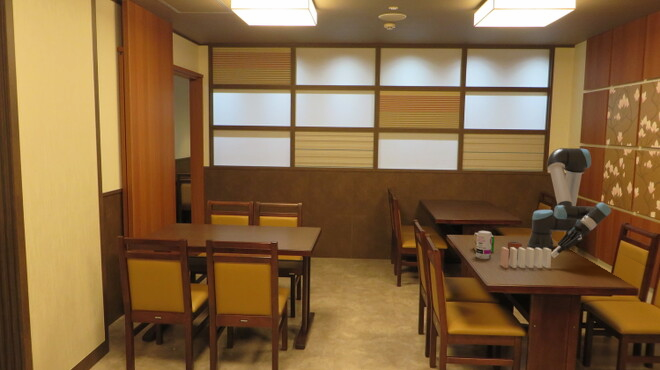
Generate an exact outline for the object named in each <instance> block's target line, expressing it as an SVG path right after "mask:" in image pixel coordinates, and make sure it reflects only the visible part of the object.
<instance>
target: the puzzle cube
mask: <svg viewBox="0 0 660 370" xmlns="http://www.w3.org/2000/svg"><path fill="white" fill-rule="evenodd" d="M477 233H478V232H474V234H473V243H472V244H473V249H474V251H475V252H476V246H477ZM494 245H495V236H494V235H492V245H491V254H493V253H494V249H495V248H494Z"/></svg>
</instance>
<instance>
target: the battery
mask: <svg viewBox="0 0 660 370" xmlns="http://www.w3.org/2000/svg"><path fill="white" fill-rule="evenodd" d="M510 247H514V248H516V249H518V247H522V248H523V243H522V242H520V240H517V241H514V240H510V241H508V242H507V248H508V249H509V257H510ZM517 260H518V252H517Z"/></svg>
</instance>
